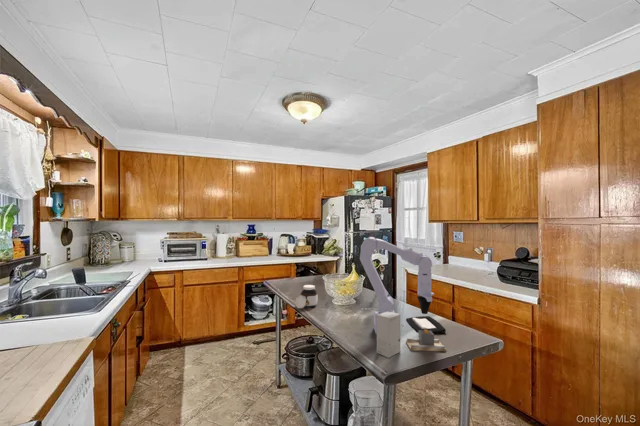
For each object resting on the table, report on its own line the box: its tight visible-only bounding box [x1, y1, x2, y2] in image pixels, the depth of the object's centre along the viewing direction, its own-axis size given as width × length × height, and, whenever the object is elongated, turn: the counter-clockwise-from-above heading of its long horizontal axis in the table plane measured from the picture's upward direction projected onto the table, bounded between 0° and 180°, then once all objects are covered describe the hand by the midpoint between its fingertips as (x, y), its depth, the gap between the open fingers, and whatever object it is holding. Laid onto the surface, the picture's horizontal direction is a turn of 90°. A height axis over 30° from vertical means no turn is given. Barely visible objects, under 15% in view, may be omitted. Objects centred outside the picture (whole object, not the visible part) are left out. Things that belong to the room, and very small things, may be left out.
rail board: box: [405, 337, 447, 352], centre depth 118 cm, size 14×7×2 cm, turn 87°
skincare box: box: [376, 311, 401, 359], centre depth 113 cm, size 8×6×15 cm
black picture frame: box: [405, 315, 446, 335], centre depth 141 cm, size 20×3×14 cm
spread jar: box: [295, 284, 319, 309], centre depth 170 cm, size 12×11×12 cm
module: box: [418, 329, 435, 345], centre depth 118 cm, size 5×4×6 cm
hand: (424, 313), depth 129 cm, fingers closed
